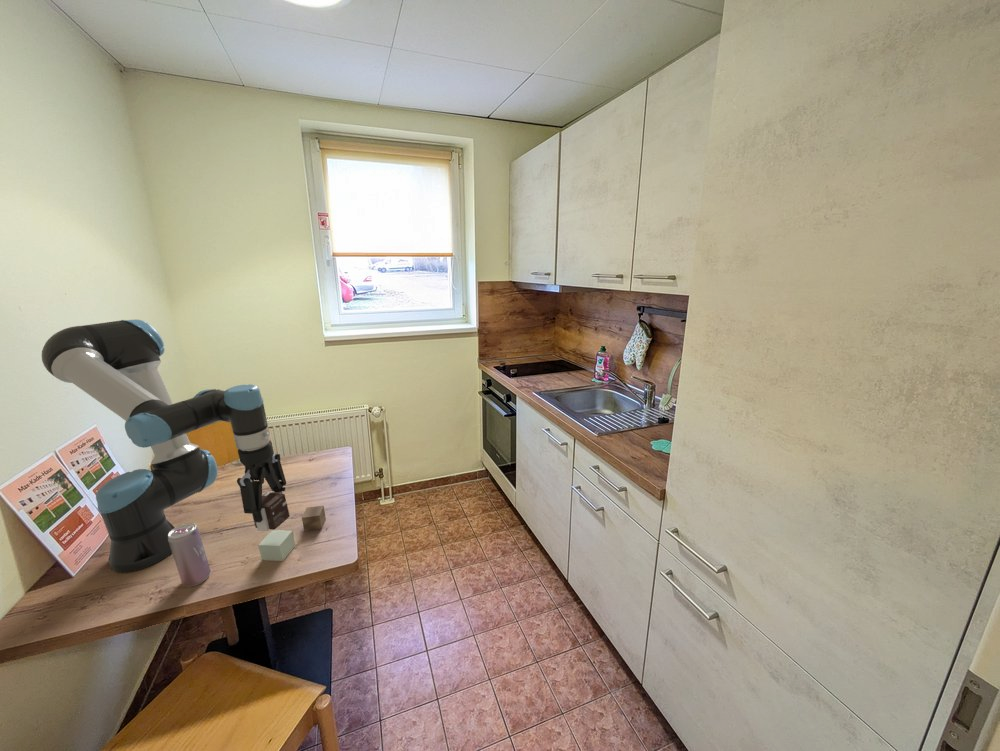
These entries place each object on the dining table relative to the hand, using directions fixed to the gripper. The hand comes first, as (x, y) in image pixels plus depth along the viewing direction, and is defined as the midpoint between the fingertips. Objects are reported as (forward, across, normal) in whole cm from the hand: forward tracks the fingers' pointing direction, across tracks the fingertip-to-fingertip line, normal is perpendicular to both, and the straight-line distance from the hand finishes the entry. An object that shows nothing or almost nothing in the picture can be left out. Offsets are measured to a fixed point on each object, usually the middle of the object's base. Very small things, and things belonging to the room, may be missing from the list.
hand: (272, 521), depth 106 cm
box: (+1, 0, 0) cm, 1 cm away
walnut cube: (+11, +12, -4) cm, 17 cm away
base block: (+11, 0, 0) cm, 11 cm away
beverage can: (+11, -10, +16) cm, 22 cm away
